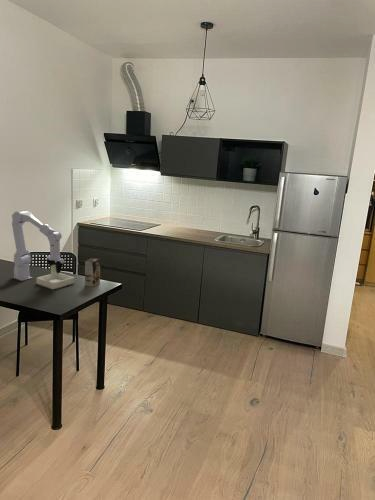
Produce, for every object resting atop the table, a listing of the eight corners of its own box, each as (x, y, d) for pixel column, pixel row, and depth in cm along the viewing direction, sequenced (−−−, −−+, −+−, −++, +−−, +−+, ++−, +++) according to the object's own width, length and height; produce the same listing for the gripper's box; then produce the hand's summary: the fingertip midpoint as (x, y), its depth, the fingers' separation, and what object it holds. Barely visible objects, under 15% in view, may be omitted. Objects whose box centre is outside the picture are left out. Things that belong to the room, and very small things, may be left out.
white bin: (36, 283, 228) (36, 277, 227) (57, 278, 241) (57, 272, 240) (53, 289, 220) (53, 283, 219) (74, 283, 233) (74, 277, 232)
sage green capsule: (49, 274, 228) (49, 265, 227) (56, 272, 232) (56, 263, 230) (54, 276, 225) (53, 267, 224) (61, 274, 229) (60, 265, 228)
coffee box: (94, 286, 229) (94, 262, 225) (84, 285, 230) (84, 261, 226) (100, 282, 238) (100, 258, 234) (91, 281, 239) (91, 257, 235)
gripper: (41, 250, 226) (42, 271, 229) (57, 254, 218) (57, 275, 221) (51, 248, 231) (52, 268, 235) (66, 252, 224) (67, 273, 227)
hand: (55, 272), depth 228 cm, fingers closed on sage green capsule, 5 cm apart
